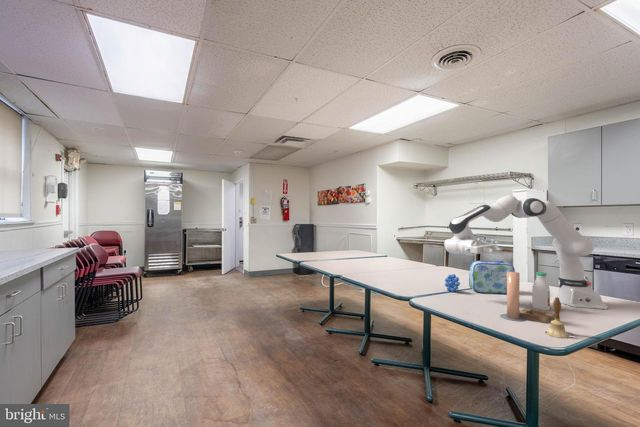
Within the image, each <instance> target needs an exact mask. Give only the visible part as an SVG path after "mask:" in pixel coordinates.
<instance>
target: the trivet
mask: <svg viewBox="0 0 640 427" xmlns="http://www.w3.org/2000/svg"><path fill="white" fill-rule="evenodd" d="M499 317H500V318H501V319H504V320H508V321H511V322H520V323H521V322H526V321H527V320H528V319H526V318H523V317H519V319H510V318H508V317H507V313H502V314H500V315H499Z"/></svg>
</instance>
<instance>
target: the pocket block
mask: <svg viewBox="0 0 640 427" xmlns="http://www.w3.org/2000/svg"><path fill="white" fill-rule="evenodd" d="M519 317H523V318H526V319H527V320H530V321H535V322H539V323H543V324H547V323H549V322H551V321H553V320H555V313H552V312H548V311H545V310H544V311H542V310H540V309H536V308H530V307H526V308H523V309H521V310H519Z"/></svg>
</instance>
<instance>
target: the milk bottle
mask: <svg viewBox="0 0 640 427" xmlns="http://www.w3.org/2000/svg"><path fill="white" fill-rule="evenodd" d="M535 277H536V278H535V281H534V282H533V284H532V289H531V290H532V291H531V293H532V294H531V295H532V296H531V297H532V298H531V299H532V300H531V303H532V304H531V306H532V308H533V309H536V310H541V311H542V310H544V311H547V310H548V311H549V310H551V309H550V308H551V302H550V301H551V298H550V296H551V293H550V292H551V290H550V286H549V283H548V282H547V272H541V271H535Z"/></svg>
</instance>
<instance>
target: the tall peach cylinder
mask: <svg viewBox="0 0 640 427" xmlns="http://www.w3.org/2000/svg"><path fill="white" fill-rule="evenodd" d="M519 311H520V272H518V271H515V272H507V294H506V314H507V317H508V318H510V319H519Z"/></svg>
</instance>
